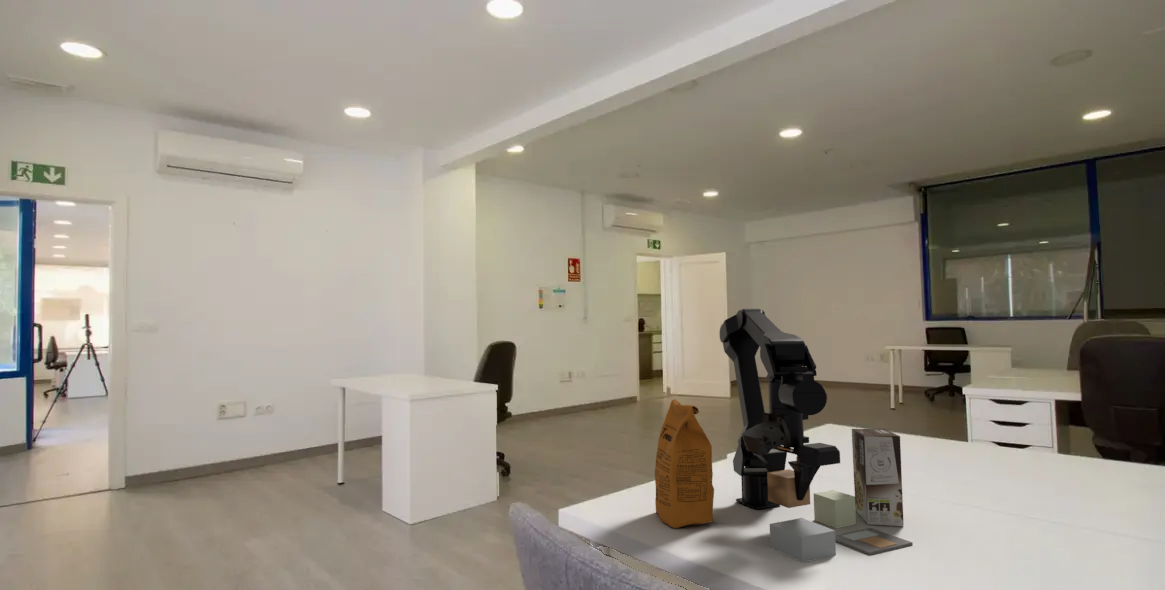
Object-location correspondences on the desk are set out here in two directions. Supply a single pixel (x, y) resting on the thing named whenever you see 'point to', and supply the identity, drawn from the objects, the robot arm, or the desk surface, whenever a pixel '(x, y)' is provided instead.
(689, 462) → the coffee package
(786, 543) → the slate base block
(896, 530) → the desk surface
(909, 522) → the desk surface
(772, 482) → the walnut block
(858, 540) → the card
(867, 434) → the coffee box
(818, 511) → the sage block
